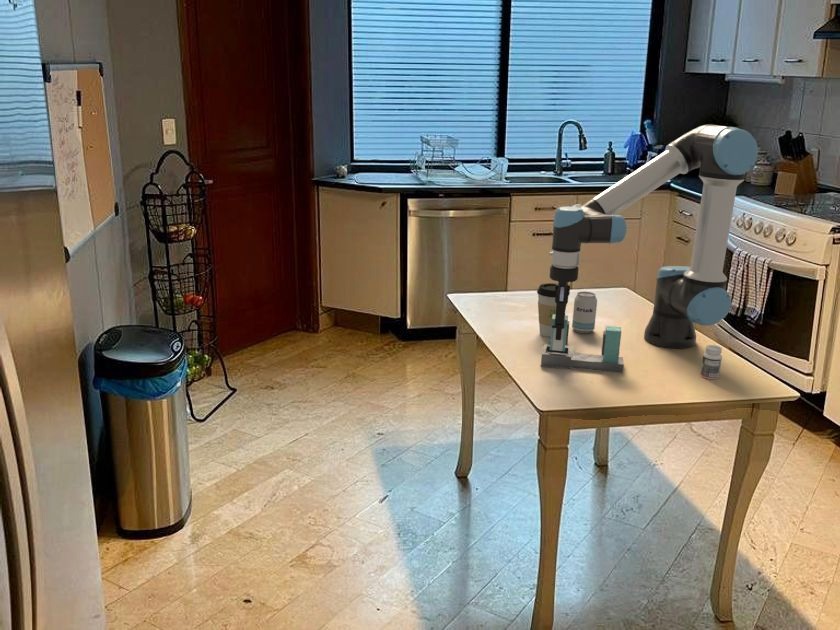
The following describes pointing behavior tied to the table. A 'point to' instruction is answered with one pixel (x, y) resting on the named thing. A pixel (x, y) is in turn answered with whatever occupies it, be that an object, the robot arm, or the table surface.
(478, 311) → the table surface
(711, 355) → the pill bottle
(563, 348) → the block
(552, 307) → the coffee cup
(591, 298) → the beverage can
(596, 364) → the grey and teal stand
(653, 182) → the robot arm
